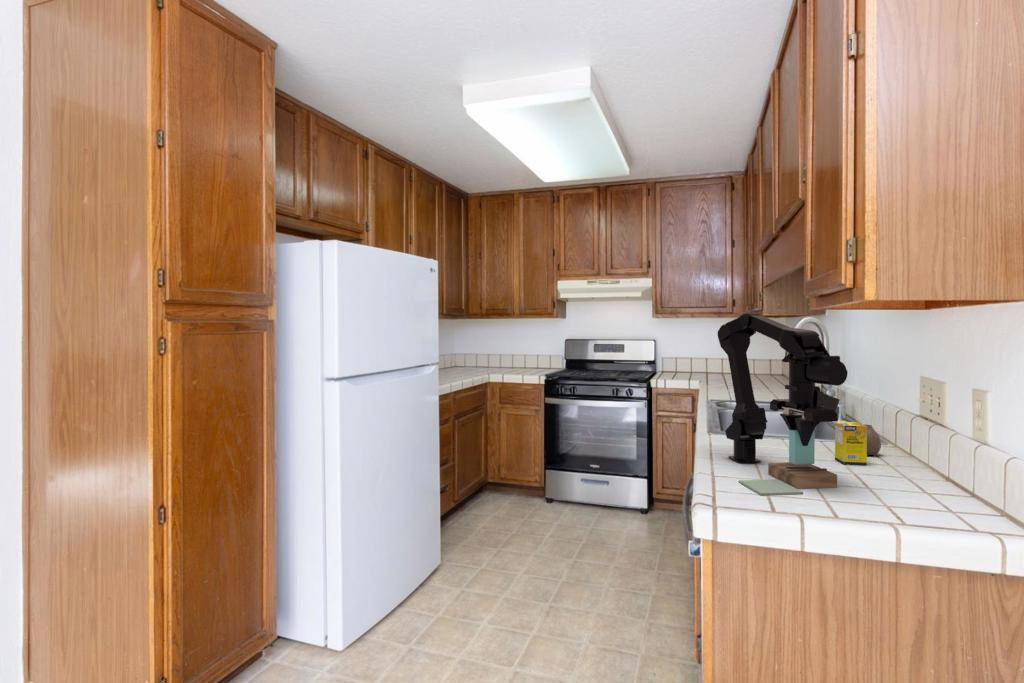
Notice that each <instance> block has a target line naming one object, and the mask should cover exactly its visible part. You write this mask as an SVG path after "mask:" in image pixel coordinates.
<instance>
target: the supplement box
mask: <svg viewBox="0 0 1024 683" xmlns="http://www.w3.org/2000/svg"><path fill="white" fill-rule="evenodd" d="M834 436H835V437H834V460H835V461H837V462H838V463H840V464H842V465H847V464H855V465H854V466H867V465H868V464H867V463H868V460H867V459H868V456H867V426H865V425H863V423H860V422H858V421H857V422H855V421H837V422H834Z"/></svg>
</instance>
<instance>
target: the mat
mask: <svg viewBox="0 0 1024 683" xmlns="http://www.w3.org/2000/svg"><path fill="white" fill-rule="evenodd" d="M738 483H739V484H740V483H741V485H742V484H743V485H742V486H744V487H745V486H746V488H747V487H748V489H749V490H751V491H752V490H753V491H752V492H754V493H756V494H757V493H758V495H759V496H783V495H784V496H787V495H803V494H804V491H803V490H800V489H796V488H794V487H792V486H790V485H788V484H786V483H784V482H782V481H780V480H779V479H777V478H773V479H748V480H747V479H746V480H745V479H744V480H741V479H740V480H738Z"/></svg>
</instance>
